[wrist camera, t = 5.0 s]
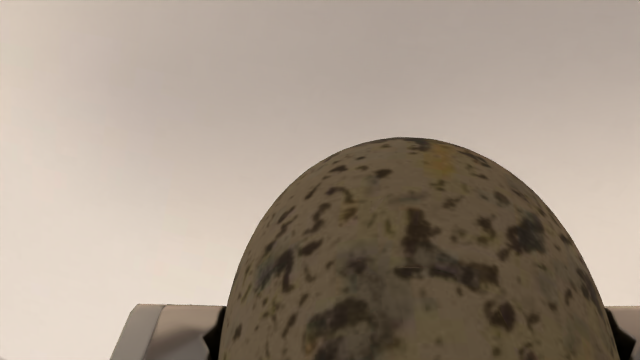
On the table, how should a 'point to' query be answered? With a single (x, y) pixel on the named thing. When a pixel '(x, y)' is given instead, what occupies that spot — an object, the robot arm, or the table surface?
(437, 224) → the decorative egg
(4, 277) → the table surface
